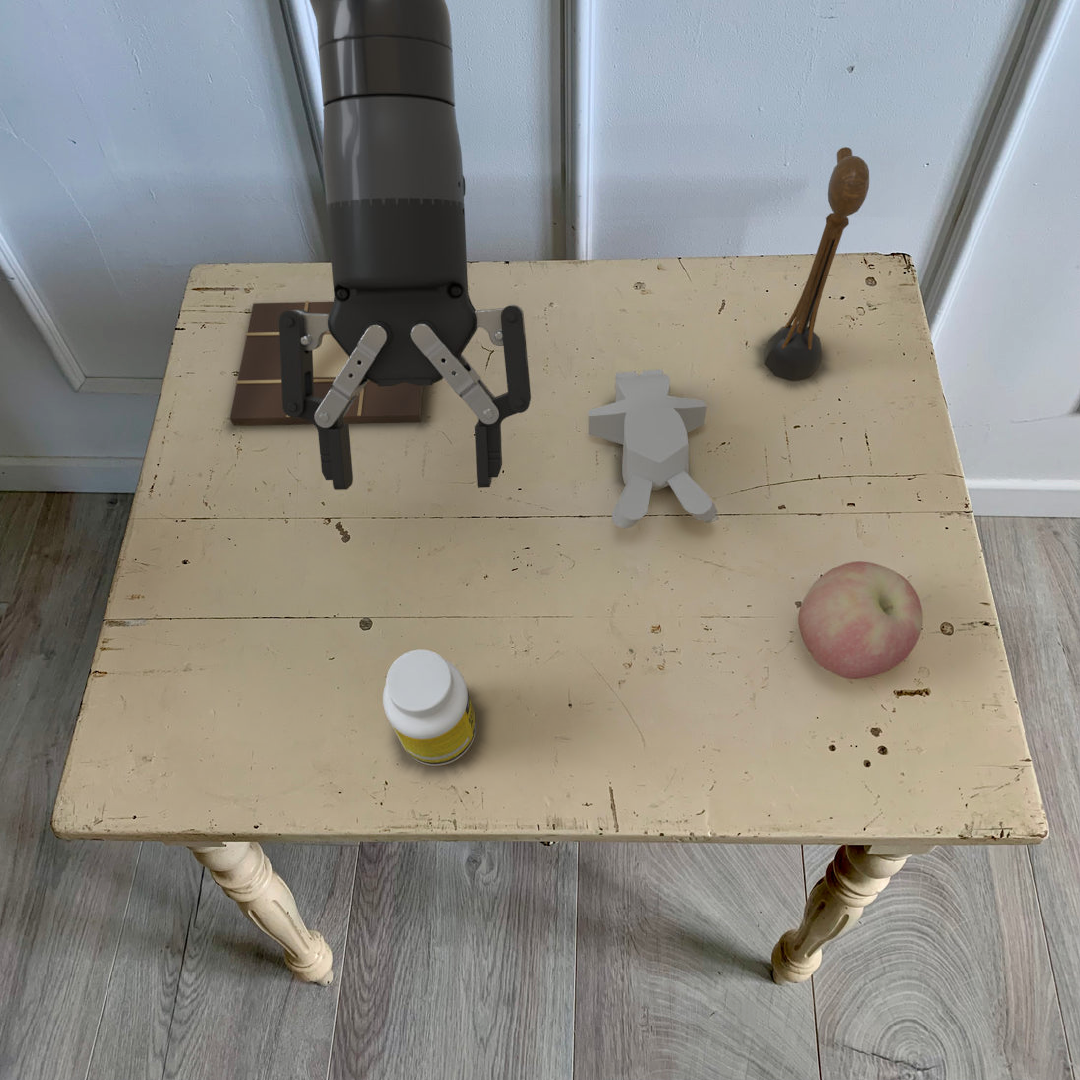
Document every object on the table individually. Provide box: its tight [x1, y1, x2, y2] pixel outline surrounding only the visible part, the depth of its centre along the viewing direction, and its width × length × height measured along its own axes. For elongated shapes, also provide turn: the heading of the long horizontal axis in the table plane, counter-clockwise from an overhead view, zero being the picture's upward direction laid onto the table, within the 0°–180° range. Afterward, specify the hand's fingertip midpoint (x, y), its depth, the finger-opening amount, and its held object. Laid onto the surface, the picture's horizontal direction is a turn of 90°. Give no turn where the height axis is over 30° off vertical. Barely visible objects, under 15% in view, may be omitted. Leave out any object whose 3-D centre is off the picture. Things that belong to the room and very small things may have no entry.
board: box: [229, 300, 424, 426], centre depth 78 cm, size 16×13×1 cm
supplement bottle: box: [382, 648, 477, 767], centre depth 58 cm, size 5×5×10 cm
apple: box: [797, 560, 924, 680], centre depth 61 cm, size 8×8×8 cm
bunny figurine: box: [587, 368, 718, 529], centre depth 70 cm, size 10×5×15 cm
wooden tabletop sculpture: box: [763, 146, 870, 382], centre depth 68 cm, size 6×5×20 cm
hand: (414, 486), depth 53 cm, fingers open, 8 cm apart
